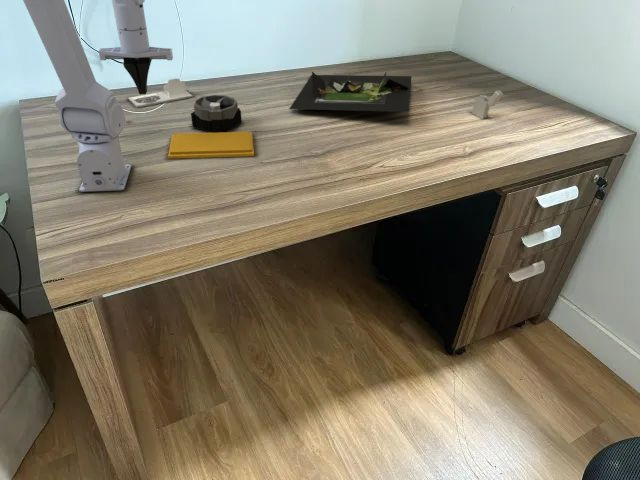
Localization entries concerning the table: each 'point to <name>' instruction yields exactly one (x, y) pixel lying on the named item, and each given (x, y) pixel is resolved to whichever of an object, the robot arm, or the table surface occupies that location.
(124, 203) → the table surface
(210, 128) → the cpu cooler
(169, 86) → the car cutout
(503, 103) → the table surface
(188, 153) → the tray
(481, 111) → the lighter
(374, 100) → the black plate with food
